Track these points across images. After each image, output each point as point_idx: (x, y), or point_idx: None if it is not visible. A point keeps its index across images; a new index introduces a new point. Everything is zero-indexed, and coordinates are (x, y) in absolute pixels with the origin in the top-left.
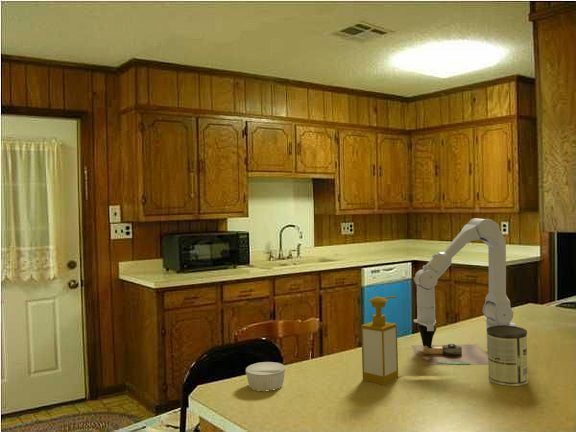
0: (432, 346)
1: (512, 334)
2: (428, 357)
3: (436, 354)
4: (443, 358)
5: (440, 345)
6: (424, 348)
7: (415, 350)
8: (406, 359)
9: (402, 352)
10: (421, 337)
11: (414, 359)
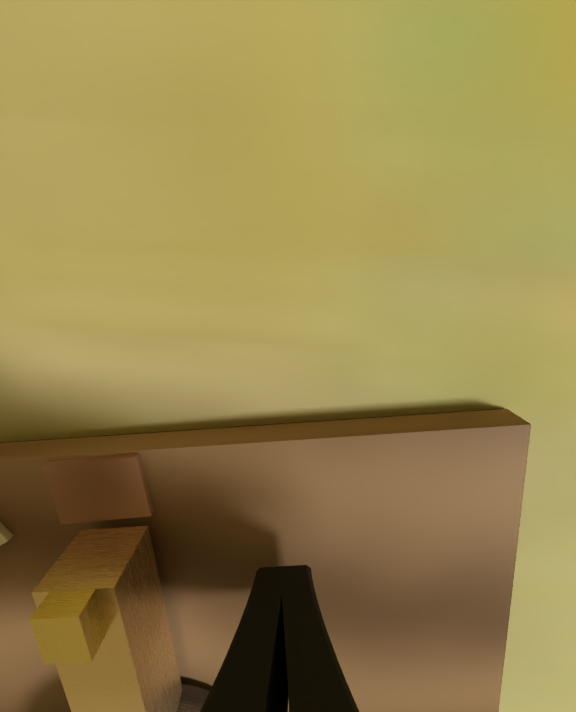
0: (447, 628)
1: None
2: (13, 553)
3: None
4: (14, 667)
5: (477, 694)
6: (34, 600)
7: (286, 450)
8: (38, 314)
9: (332, 287)
10: (317, 707)
11: (57, 401)
